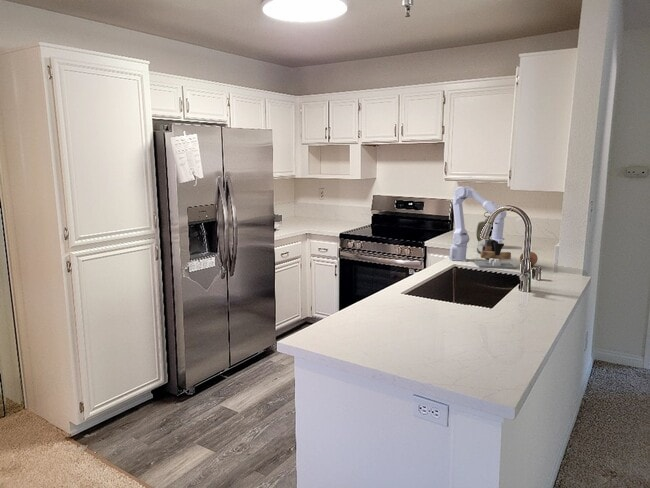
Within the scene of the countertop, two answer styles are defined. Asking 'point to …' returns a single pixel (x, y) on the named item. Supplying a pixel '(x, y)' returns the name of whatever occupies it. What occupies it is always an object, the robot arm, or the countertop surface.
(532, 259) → the onion
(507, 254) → the bar
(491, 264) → the stand
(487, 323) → the countertop surface
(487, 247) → the gun
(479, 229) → the tabletop clock
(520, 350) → the countertop surface
